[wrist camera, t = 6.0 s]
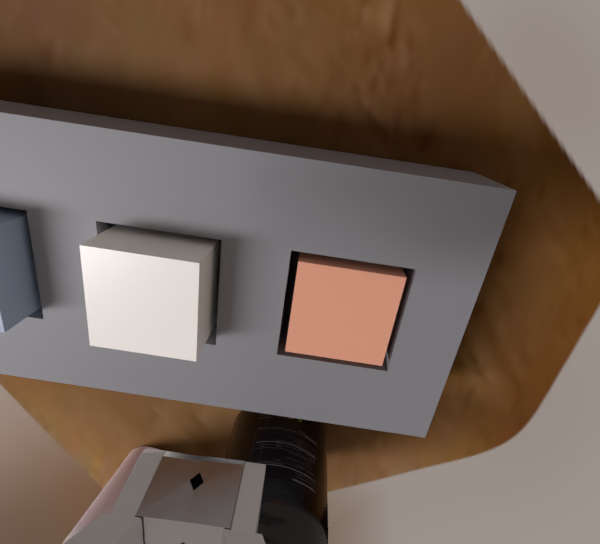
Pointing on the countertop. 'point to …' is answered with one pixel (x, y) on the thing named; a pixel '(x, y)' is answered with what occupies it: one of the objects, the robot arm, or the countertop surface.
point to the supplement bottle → (286, 475)
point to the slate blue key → (16, 269)
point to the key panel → (248, 260)
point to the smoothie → (109, 491)
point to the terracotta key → (344, 308)
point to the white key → (151, 290)
